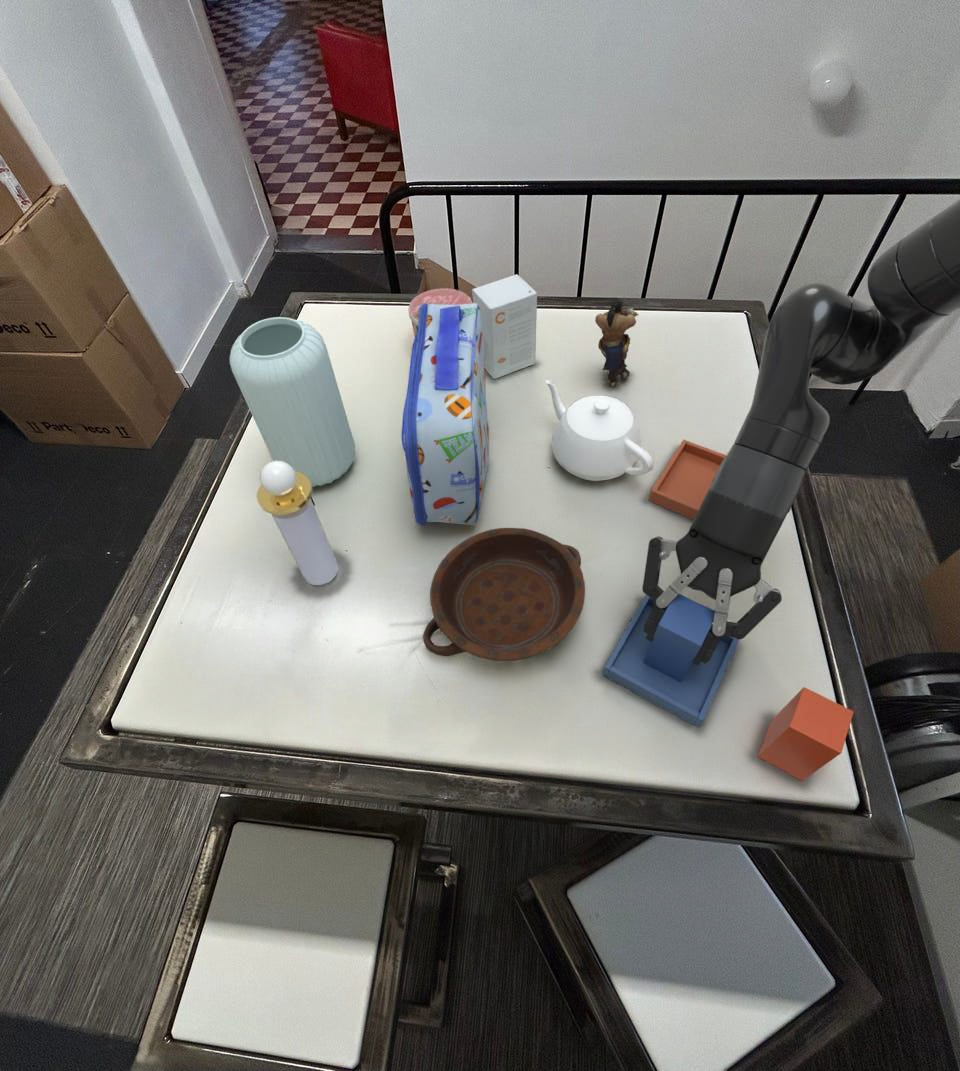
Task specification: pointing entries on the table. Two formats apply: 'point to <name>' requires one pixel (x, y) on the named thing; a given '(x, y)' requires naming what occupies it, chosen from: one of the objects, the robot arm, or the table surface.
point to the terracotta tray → (686, 479)
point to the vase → (294, 397)
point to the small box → (507, 324)
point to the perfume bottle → (297, 520)
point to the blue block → (679, 637)
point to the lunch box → (446, 415)
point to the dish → (505, 595)
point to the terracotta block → (806, 734)
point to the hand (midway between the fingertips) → (673, 650)
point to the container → (436, 301)
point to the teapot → (597, 438)
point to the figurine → (615, 339)
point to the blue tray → (658, 687)
